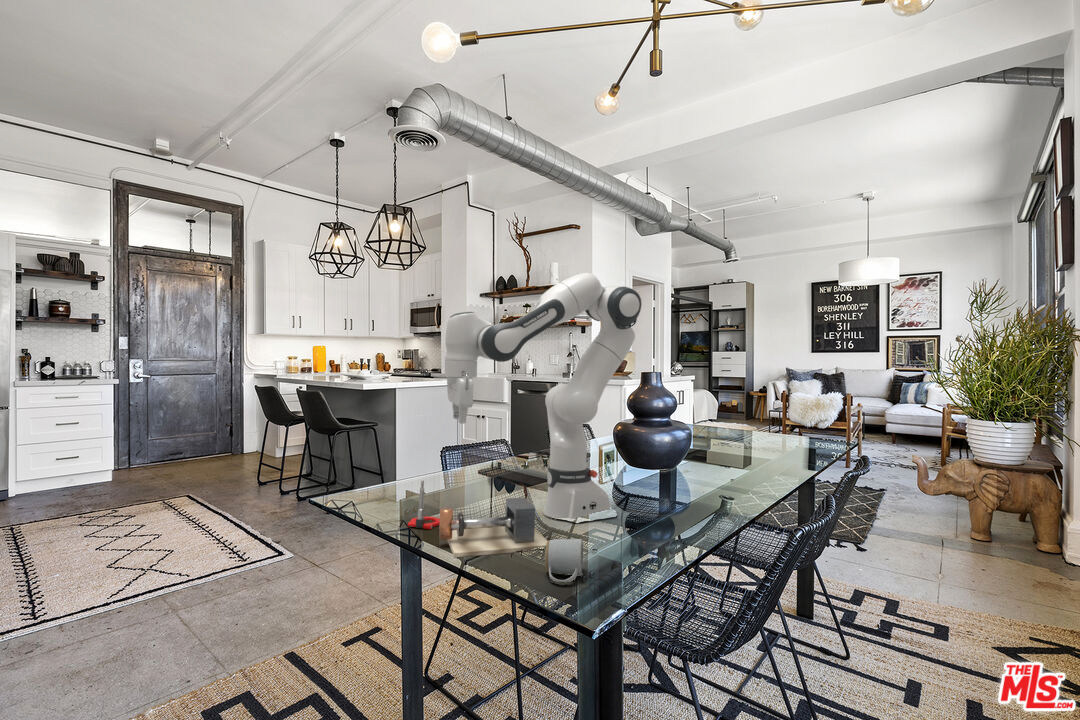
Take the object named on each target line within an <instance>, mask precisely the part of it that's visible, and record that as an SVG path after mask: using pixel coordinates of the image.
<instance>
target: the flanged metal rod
mask: <svg viewBox="0 0 1080 720" xmlns="http://www.w3.org/2000/svg"><path fill="white" fill-rule="evenodd" d="M464 517H465V516H464V514H463V512H457V515H456V519H454V509H453V508H452V507H441V508H440V509H439V519H440V525H439V530H438V531H439V534H438V536H439V537H438V538H439V540H442V541H447V540H450V539H452V531H453V530H457V535H458V537H460V536H463V534H464V530H465V529H479V528H492V527H505V526H508V527H510V528H511V527H513V526H514V521H513V520H512V518H510V517H509V516H508V517H505V516H495V517H494V516H493V517H481V518H480V517H479V518H468V519H467V518H465V519H464Z"/></svg>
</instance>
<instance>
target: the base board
mask: <svg viewBox="0 0 1080 720" xmlns="http://www.w3.org/2000/svg"><path fill="white" fill-rule="evenodd" d="M446 541H447V544H448V545H449V548H450V550H451V553H452V555H453V558H454V559H455V558H464V557H465V558H467V557H476V556H485V555H486V556H487V555H489V556H490V555H496V554H509V553H517V552H516V551H521V550H531V549H534V548H538V547H541V546H546V543H547V542H548V541H549V540H547V538H546V537H544V536H543V534H542V533H541V532H540V531H539V530H538V529H537V528H536V527H535V531H534V542H526V543H514V542H513V540H512V539H511V538H510V536H509V535H508V534H507V532H506V531H505V526H504V527H491V528H477V529H464V534H463V536H460V537H458V535H457V530H453V531H452V539H450V540H446Z"/></svg>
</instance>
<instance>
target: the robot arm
mask: <svg viewBox="0 0 1080 720" xmlns="http://www.w3.org/2000/svg"><path fill="white" fill-rule="evenodd" d="M641 310H642V298H641V296H640V294H639V293H638V292H637V291H636V290H635V289H633V288H631V287H628V286H616V285H613V286H611V285H609V286H602V284H601V282H600V280H599V278H598V277H597V276H596V275H595V274H593V273H591V272H581V273H578V274H576V275H572V276H570V277H568V278H565V279H564V280H561V281H560V282H558V283H557V284H555V285H553V286H552V287H550V288H549V289H547V290H546V291H544V292H543V293H542V294H541V296H540V298H539V302H538V306H537V307H535V308H534V309H533V310H530V311H529V312H528V313H526V314H524V315H522V316H520V317H519V318H518V319H516V320H514V321H510V322H499V323H496V324H493V323H491V322H490V321H487V320H486V319H484V318H482V317H480V315H478V314H477V313H476V312H474V311H462V312H458V313H454V314H452V315H450V316H449V318H448V319H447V322H446V323H447V324H446V329H445V330H446V331H445V343H444V344H445V348H446V354H445V356H444V377H445V378H446V386H447V399H448V401H449V402H451V403H452V404H451V407H452V418H453V420H458V423H459V424H463V425H464V424H466V423H467V415H468V411H469V408H471V409H472V408H473V404H474V383H473V378H477V377H478V358H479V357H482V358H483V359H487V360H493V361H496V362H501V363H504V362H507V361H511V360H512V359H514V358H515V357H516V356H517V355H518V354H519V352H520V351H521V350H522V348H523V347H524V345H525V344H526V343H527V342H528V341H530V340H531V339H532V338H535V337H536V336H537V335H539V334H541V333H542V332H544V331H546V330H547V329H549V328H551V327H553V326H557V325H560V324H563V323H566V322H568V321H570V320H572V319H574V318H576V317H577V316H579V315H580V314H582V313H584V312H585V313H586V315H587V316H588V317H589V318H591V319H593V320H594V321H597V322H601V327H600V329H599V332H598V334H597V335H596V337H595V338H594V339H593V341H592V342H590V345H588V347H587V348H586V350H585V351H584V353H583V354H582V356H581V357H580V358H579V359H578V361H577V363H576V368H575V370H574V373H573V375H572V376H571V379H570V380H569V381H568V383H567V384H566V383H565V384H564V383H561V384H557V385H555V386H554V387H551V388H550V389H549V390H548V391H547V393H546V395H545V398H544V399H545V400H544V401H545V402H544V403H545V407H546V412H547V413H546V414H547V421H548V422H547V424H548V431H549V441H550V442H549V443H550V445H549V447H550V448H549V465H548V467H547V486H548V487H547V494H546V500H545V504H544V508H543V511H542V514H543V513H544V514H545V515H547V516H550V517H554V518H570V519H574V520H576V519H575V518H576V517H579V516H584V515H589V514H592V513H596V512H601V511H605V510H610V506H611V502H610V501H611V500H610V498H609V497H610V496H609V494H608V493H607V492H606V491H605V490H604V489H603V488H602V487H601V486H600V485H598V484H597V483H596V482H594V481H593V480H592V478H593V479H594V478H595V479H596V478H597V477H598V475H599V474H598V472H597V470H594V469H590V468H588V467H587V455H588V454H587V453H588V452H587V450H588V442H587V438H586V436H585V431H584V426H583V425H584V424H587V423H589V422H592V421H593V420H594V418H595V417H596V415H597V413H598V409H599V402H600V400H601V398H602V395H603V393H604V392H605V388H606V387H607V385H608V383H609V382H610V381H611V378H612V377H613V375H614V374H615V373H616V372H617V370H618V369H619V367H620V366H621V365H622V363H623V361H624V360H625V359H626V356H627V355H628V354H629V351H630V350H631V348H632V345H633V344H634V342H635V339H636V334H635V331H634V329H633V326H634V325H636V324H637V321H638V317H639V315H640V313H641ZM544 514H543V515H544ZM545 515H544V516H545ZM547 516H546V517H547Z"/></svg>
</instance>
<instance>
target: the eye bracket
mask: <svg viewBox="0 0 1080 720" xmlns="http://www.w3.org/2000/svg"><path fill="white" fill-rule="evenodd" d="M508 516H509V517H510V518H512V520H513V521H514V526H513V527H511V528H510V527H508V526H504V527H505V531H506V532H507V534H508V535H509V536H510V538H511V539H512V540H513V542H514V543H526V542H534V531H535V528H536V527H535V526H536V508H535V506H533V504H531V503H530V502H529V501H528V500H527V499H526V498H525V497H511V498H505V515H504V517H508Z"/></svg>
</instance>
